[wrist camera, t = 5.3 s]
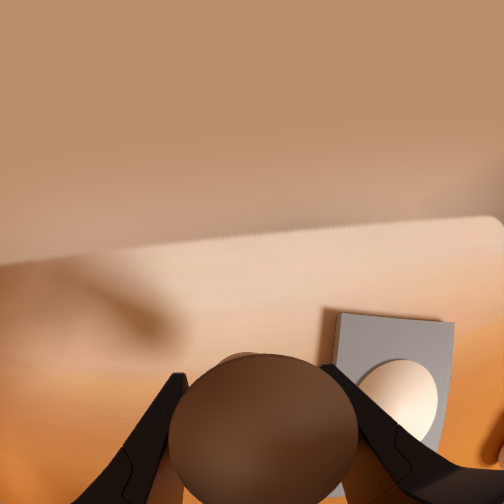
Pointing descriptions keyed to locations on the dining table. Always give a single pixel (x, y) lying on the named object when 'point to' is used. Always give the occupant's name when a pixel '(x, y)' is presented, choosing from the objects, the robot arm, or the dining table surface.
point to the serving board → (398, 369)
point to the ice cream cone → (501, 458)
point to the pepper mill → (263, 432)
